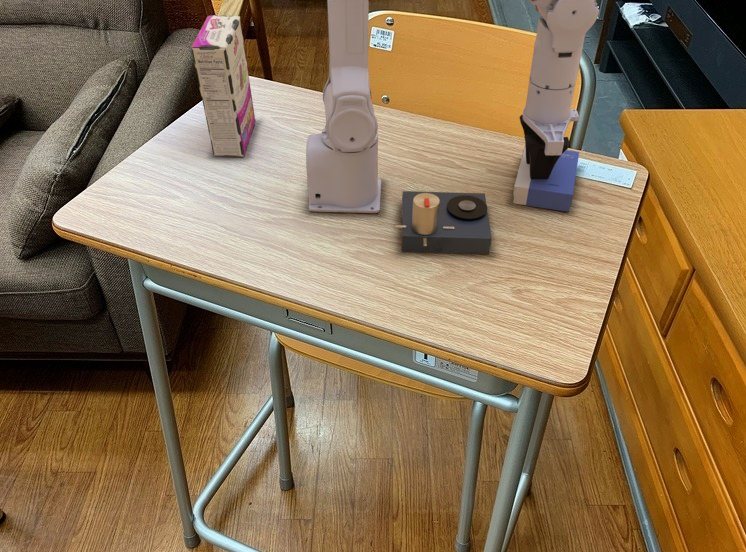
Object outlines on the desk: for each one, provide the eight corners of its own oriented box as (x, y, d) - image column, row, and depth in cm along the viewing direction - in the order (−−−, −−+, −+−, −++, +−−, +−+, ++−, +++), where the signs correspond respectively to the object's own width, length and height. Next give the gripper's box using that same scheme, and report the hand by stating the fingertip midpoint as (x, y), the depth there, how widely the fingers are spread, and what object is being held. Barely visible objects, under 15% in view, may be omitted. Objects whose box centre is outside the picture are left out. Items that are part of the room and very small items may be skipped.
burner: (447, 220, 83) (447, 216, 83) (445, 197, 87) (446, 193, 87) (488, 222, 83) (489, 217, 83) (485, 198, 87) (485, 194, 87)
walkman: (568, 212, 89) (575, 167, 97) (572, 194, 87) (579, 150, 96) (510, 203, 91) (522, 160, 99) (513, 186, 89) (525, 143, 97)
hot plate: (393, 261, 81) (394, 244, 80) (395, 206, 90) (395, 189, 88) (490, 264, 81) (493, 246, 80) (482, 208, 90) (485, 192, 88)
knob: (411, 219, 83) (412, 190, 80) (436, 220, 83) (439, 190, 80) (412, 235, 81) (413, 205, 78) (438, 235, 81) (440, 205, 78)
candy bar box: (225, 121, 106) (206, 14, 94) (256, 122, 106) (241, 14, 94) (211, 157, 98) (189, 45, 86) (244, 158, 98) (227, 46, 86)
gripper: (596, 107, 77) (574, 204, 87) (574, 55, 87) (556, 147, 97) (536, 107, 77) (521, 204, 87) (520, 55, 88) (508, 148, 97)
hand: (536, 175), depth 92 cm, fingers closed on walkman, 3 cm apart
